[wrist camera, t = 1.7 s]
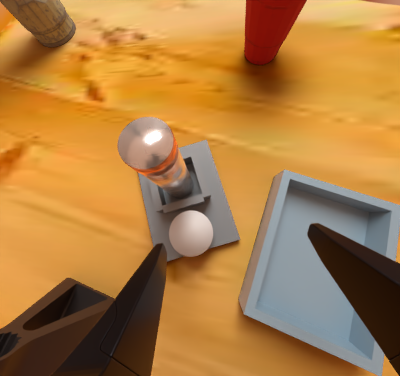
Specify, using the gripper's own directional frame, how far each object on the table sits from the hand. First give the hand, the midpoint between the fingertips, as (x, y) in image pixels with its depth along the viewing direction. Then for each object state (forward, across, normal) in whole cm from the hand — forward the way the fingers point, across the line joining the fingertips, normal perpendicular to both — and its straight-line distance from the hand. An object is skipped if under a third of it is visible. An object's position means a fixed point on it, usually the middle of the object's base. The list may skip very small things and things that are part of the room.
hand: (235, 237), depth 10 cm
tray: (+7, -11, +13) cm, 18 cm away
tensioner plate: (+14, +5, +6) cm, 15 cm away
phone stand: (+4, +21, +16) cm, 26 cm away
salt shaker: (+14, +5, +3) cm, 15 cm away
